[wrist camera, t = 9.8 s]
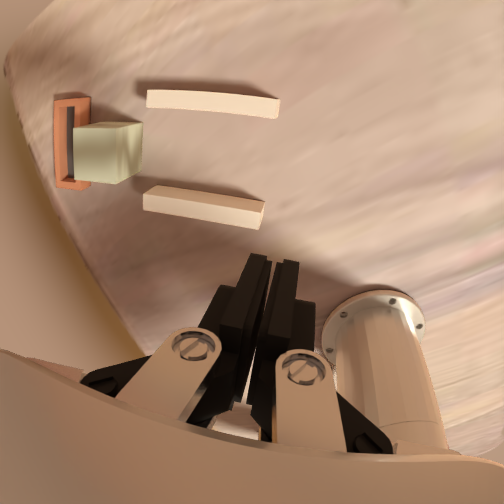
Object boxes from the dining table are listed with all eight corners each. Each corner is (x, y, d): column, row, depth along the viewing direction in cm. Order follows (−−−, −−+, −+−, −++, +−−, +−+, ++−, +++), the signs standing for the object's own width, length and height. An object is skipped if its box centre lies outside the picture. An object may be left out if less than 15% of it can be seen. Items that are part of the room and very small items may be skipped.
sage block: (141, 170, 30) (115, 184, 25) (102, 166, 30) (74, 179, 26) (143, 122, 27) (116, 128, 23) (103, 121, 28) (73, 128, 23)
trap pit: (90, 185, 31) (81, 190, 30) (65, 182, 32) (56, 187, 30) (91, 97, 26) (80, 98, 25) (64, 99, 27) (54, 100, 25)
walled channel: (262, 217, 30) (258, 229, 27) (156, 199, 31) (142, 209, 28) (280, 99, 25) (277, 99, 22) (162, 89, 25) (147, 89, 23)
